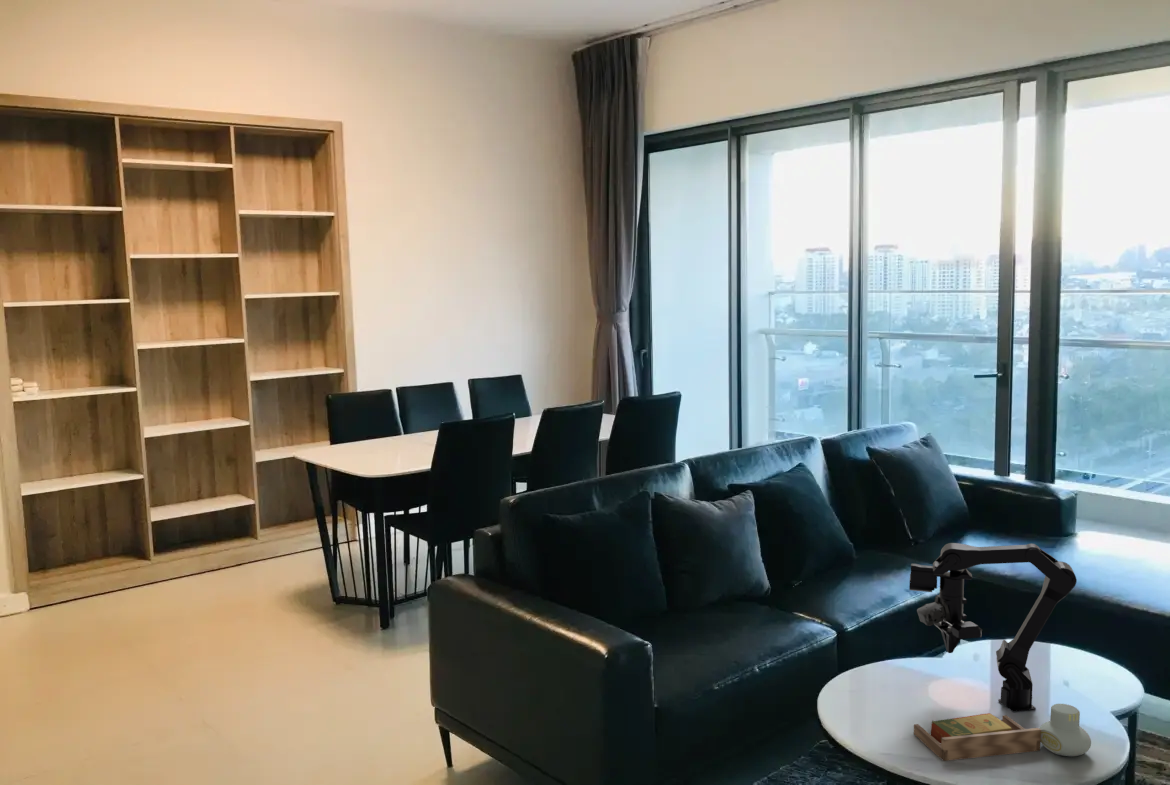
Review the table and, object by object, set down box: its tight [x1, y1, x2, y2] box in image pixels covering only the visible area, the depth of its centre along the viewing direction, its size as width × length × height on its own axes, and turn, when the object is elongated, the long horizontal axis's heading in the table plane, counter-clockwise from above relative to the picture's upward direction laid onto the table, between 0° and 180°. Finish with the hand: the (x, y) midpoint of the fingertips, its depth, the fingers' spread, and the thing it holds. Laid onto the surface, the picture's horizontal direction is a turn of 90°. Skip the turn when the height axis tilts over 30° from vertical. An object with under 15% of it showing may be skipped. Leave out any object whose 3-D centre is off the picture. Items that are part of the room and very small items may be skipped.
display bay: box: [913, 714, 1042, 762], centre depth 221 cm, size 24×13×5 cm, turn 100°
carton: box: [930, 712, 1012, 744], centre depth 223 cm, size 8×16×4 cm, turn 103°
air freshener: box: [1038, 703, 1092, 757], centre depth 217 cm, size 11×8×10 cm
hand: (949, 652), depth 245 cm, fingers closed
